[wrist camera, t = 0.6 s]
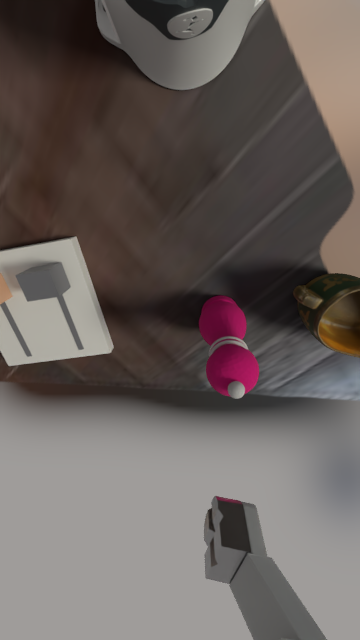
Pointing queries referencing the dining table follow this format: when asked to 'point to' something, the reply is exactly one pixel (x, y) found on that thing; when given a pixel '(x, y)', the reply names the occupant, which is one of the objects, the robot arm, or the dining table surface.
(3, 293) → the block
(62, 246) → the fader panel
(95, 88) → the dining table surface
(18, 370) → the dining table surface
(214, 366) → the pepper mill
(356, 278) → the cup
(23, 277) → the block
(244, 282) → the dining table surface
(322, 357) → the dining table surface
